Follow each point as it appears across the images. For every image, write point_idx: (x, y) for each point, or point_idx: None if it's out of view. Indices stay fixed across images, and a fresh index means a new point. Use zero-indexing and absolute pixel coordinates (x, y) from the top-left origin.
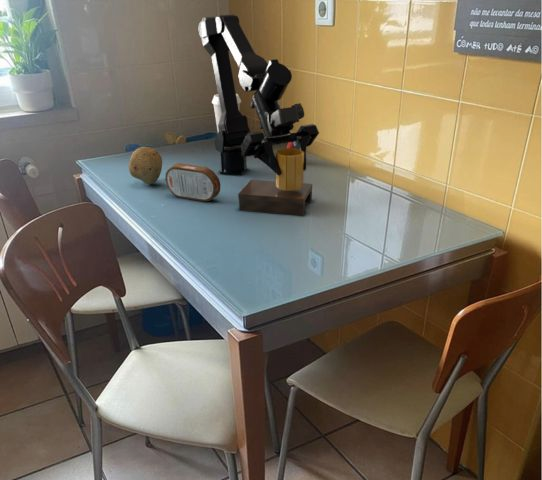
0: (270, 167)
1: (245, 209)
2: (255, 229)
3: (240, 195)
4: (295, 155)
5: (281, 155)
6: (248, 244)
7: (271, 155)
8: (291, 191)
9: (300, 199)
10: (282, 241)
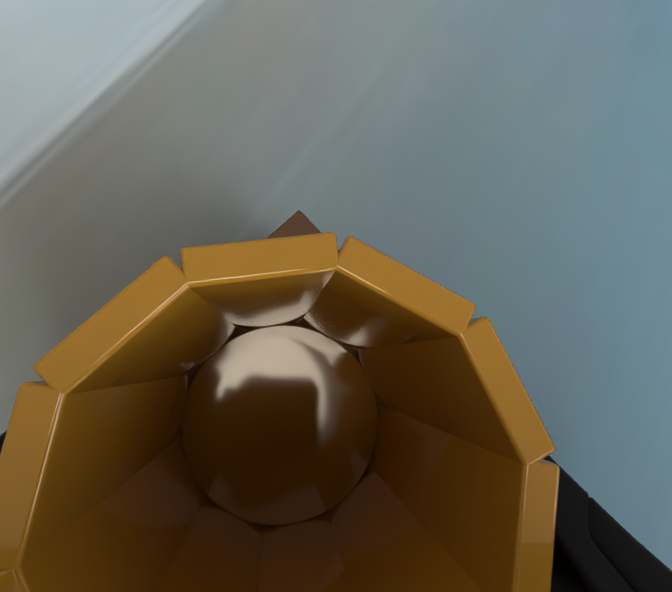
0: None
1: None
2: (576, 236)
3: None
4: (324, 260)
5: (532, 408)
6: (661, 122)
7: (634, 567)
8: None
9: (312, 226)
10: (532, 62)
